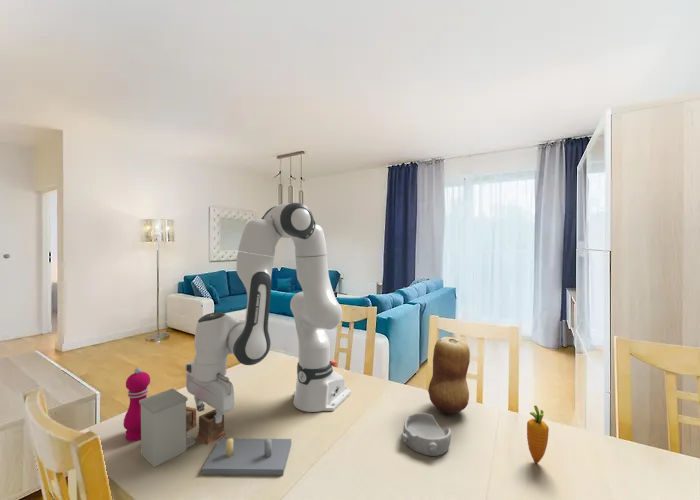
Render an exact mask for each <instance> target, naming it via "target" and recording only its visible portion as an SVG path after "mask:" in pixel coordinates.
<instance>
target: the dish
mask: <svg viewBox="0 0 700 500" xmlns="http://www.w3.org/2000/svg"><path fill="white" fill-rule="evenodd" d="M402 431H403V433H402V434H401V439H402V441H403V442H404V443H406V445H407V446H408V447H409V448H410V449H411V450H413V451H415V452H417V453H418V454H419V453H420V454H422V455H425V456H430V457H435V456H436V457H437V456H441V455H443V454H445V453H446V452H447V451H448V450H449V448H450V445H451V440H452V439H451V438H452V431H451V428H450V427H448V428H446V429H445V430H444V429H442V427H441V426H440V424H438V422H437V421H436V419H435V417H434V415H433V414H430V413H426V412H417V413H412V414H411V413H410V414H409V415H408V416H407V417H406V418H405V419H404V422H403V430H402Z"/></svg>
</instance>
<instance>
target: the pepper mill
mask: <svg viewBox="0 0 700 500" xmlns="http://www.w3.org/2000/svg"><path fill="white" fill-rule="evenodd" d="M142 370H143V369H142V368H141V367H136V368H135V369H134V373H132V374H130V375H129V376H128V377H127V378H126V382H125V388H126V389H127V391H128V392H127V393H128V394H127V397H128V398H129V405H128V408H127V411H126V413H125V416H124V419H123V428H124V430H126V431H125V439H126V440H127V441H129V442H133V441H134V442H137V441H139V440H140V441H141V404H140V403H139V400H141V399H144V398H147V397H148V396H147V395H148V394H149V387H148V386H149V385H150V383H151V377H150V375H149V373H147V372H145V371H142Z"/></svg>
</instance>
